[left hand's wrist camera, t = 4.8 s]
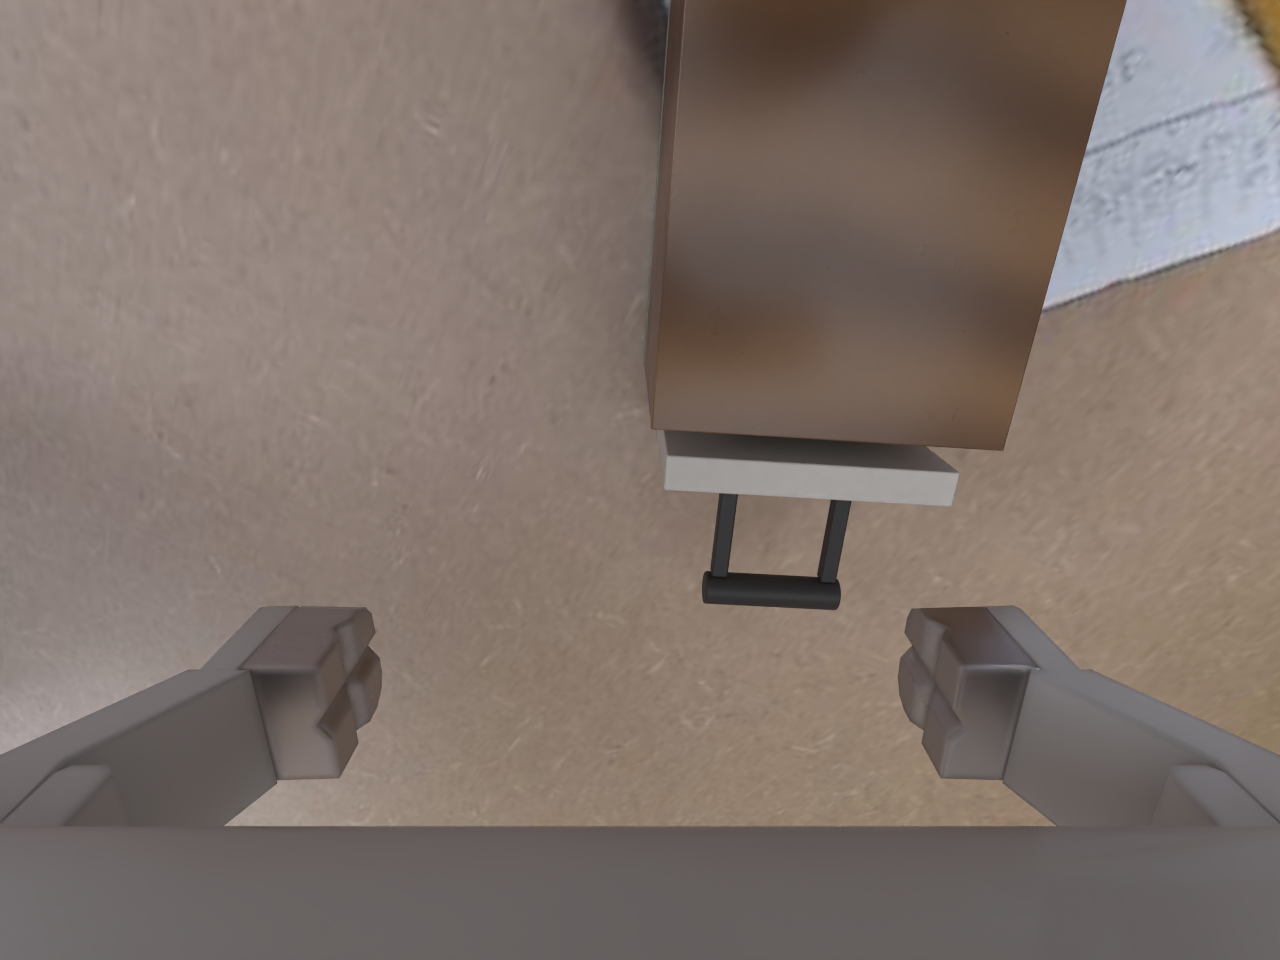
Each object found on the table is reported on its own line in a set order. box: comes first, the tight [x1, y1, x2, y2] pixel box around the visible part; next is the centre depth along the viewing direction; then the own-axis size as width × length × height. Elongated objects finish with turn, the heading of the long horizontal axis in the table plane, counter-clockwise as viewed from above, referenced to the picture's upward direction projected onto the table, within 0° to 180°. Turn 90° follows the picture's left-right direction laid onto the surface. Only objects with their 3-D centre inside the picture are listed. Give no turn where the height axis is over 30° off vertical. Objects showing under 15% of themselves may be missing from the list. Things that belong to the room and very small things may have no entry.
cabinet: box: [644, 0, 1127, 451], centre depth 22 cm, size 19×11×10 cm, turn 176°
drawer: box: [656, 430, 960, 610], centre depth 24 cm, size 23×10×8 cm, turn 176°
